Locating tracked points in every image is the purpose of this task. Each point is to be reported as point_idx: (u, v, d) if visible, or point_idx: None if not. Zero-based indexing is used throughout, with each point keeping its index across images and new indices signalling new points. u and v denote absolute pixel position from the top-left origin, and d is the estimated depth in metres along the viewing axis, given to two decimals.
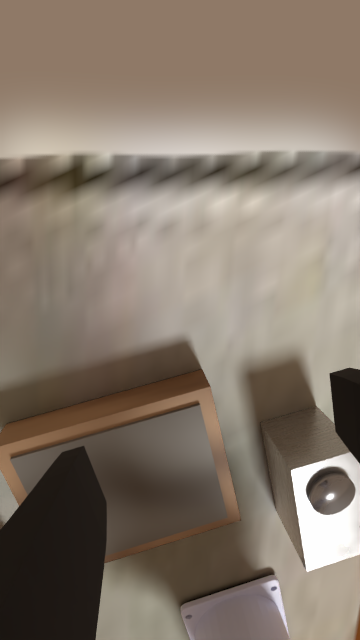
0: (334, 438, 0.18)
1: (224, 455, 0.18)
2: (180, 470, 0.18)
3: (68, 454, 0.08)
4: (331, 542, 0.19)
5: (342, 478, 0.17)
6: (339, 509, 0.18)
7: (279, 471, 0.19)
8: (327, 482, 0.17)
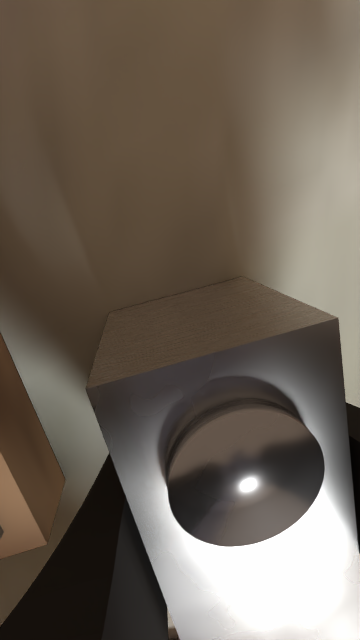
0: (263, 310, 0.06)
1: None
2: None
3: None
4: (263, 621, 0.07)
5: (274, 419, 0.05)
6: (275, 529, 0.06)
7: None
8: (218, 434, 0.05)
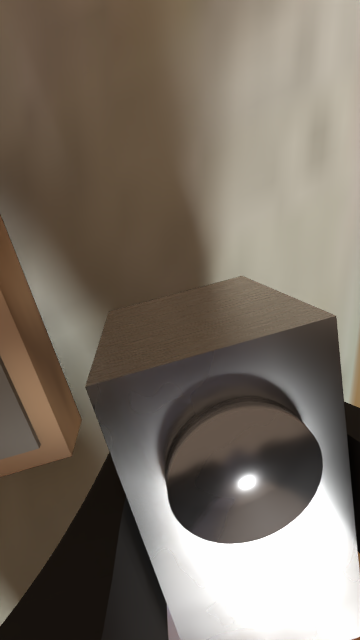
0: (261, 308, 0.06)
1: (9, 318, 0.09)
2: None
3: None
4: (263, 618, 0.07)
5: (273, 416, 0.05)
6: (274, 526, 0.06)
7: None
8: (217, 431, 0.05)
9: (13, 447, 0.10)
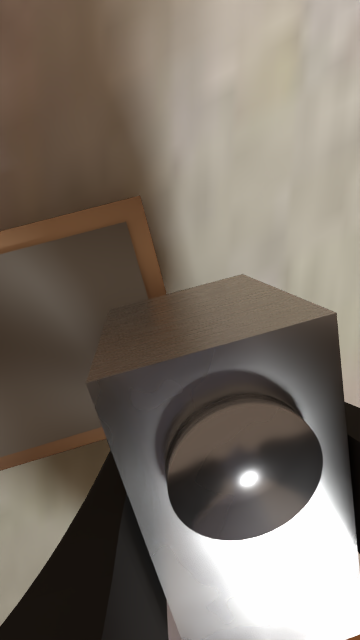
0: (261, 306, 0.06)
1: None
2: None
3: None
4: (262, 615, 0.07)
5: (273, 413, 0.05)
6: (274, 523, 0.06)
7: None
8: (217, 428, 0.05)
9: None
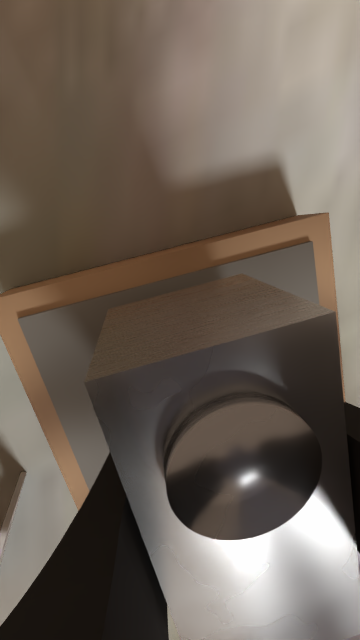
0: (260, 304, 0.06)
1: None
2: None
3: None
4: (262, 615, 0.07)
5: (272, 412, 0.05)
6: (273, 522, 0.06)
7: None
8: (215, 427, 0.05)
9: None
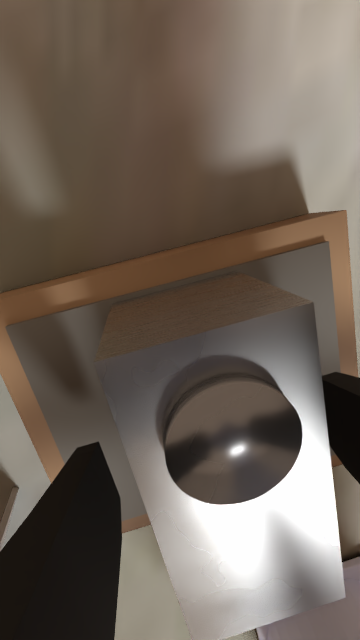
0: (250, 297, 0.07)
1: (353, 343, 0.11)
2: None
3: (83, 449, 0.08)
4: (251, 579, 0.07)
5: (257, 389, 0.05)
6: (260, 490, 0.06)
7: None
8: (209, 403, 0.05)
9: None
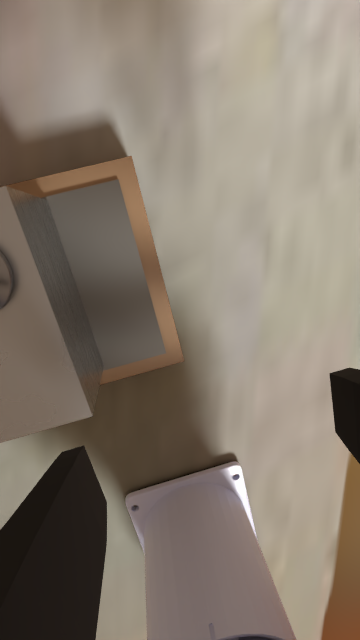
0: None
1: (156, 263, 0.15)
2: (99, 277, 0.15)
3: (68, 454, 0.08)
4: (13, 392, 0.11)
5: None
6: None
7: None
8: None
9: (150, 351, 0.16)
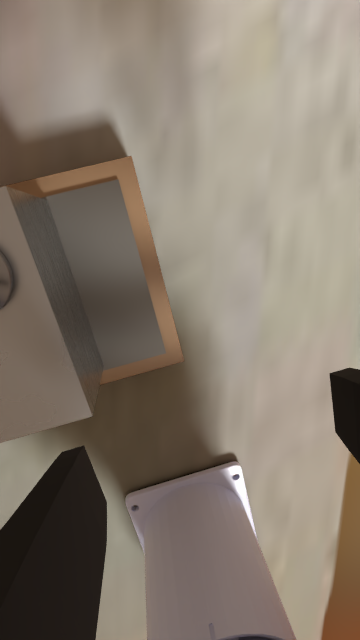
0: None
1: (156, 263, 0.15)
2: (99, 277, 0.15)
3: (68, 454, 0.08)
4: (13, 392, 0.11)
5: None
6: None
7: None
8: None
9: (150, 351, 0.16)
